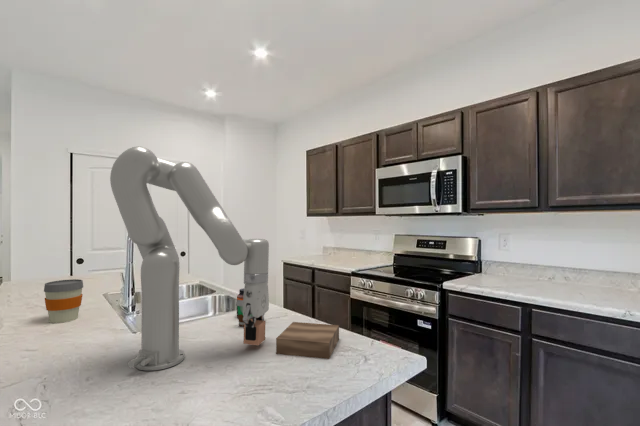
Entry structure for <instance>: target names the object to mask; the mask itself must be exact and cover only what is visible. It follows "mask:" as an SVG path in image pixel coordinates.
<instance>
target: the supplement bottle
mask: <svg viewBox="0 0 640 426" xmlns="http://www.w3.org/2000/svg"><path fill="white" fill-rule="evenodd" d="M238 293H239V294H237V295H236V301H237V300H243V296H244V288H239V291H238ZM236 318H238V308H237V307H236Z"/></svg>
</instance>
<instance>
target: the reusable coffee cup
mask: <svg viewBox="0 0 640 426" xmlns="http://www.w3.org/2000/svg"><path fill="white" fill-rule="evenodd" d="M43 287H44V288H43V292H44V295H45V297H44V303H45V310H46V311H47V315H48V321H49V323H50V324H62V323H69V322H72V321H76V320H77V319H78V317H79V311H80V307H81V305H82V300H83V293H82V292H83V289H84V282H83V279H80V278H79V279H76V278H75V279H73V278H72V279H61V280H59V279H58V280H53V281H49V282H45V283H44V285H43Z"/></svg>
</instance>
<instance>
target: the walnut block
mask: <svg viewBox="0 0 640 426" xmlns="http://www.w3.org/2000/svg"><path fill="white" fill-rule="evenodd" d="M339 340H340V325H339V324H328V323H327V324H325V323H315V322H314V323H313V322H298V321H292V322H291V323H290V324H289V325H288V326H287V327H286V329H284V330H283V331H282V332H281V333H280V334H279V335H278V336H277V337H276V339H275V353H276V355H285V356H295V357H304V358H315V359H324V360H325V359H326V360H329V359H330V358H331V356H332V354H333V352H334V350H335V349H336V346H337V344H338V342H339Z"/></svg>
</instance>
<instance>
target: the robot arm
mask: <svg viewBox="0 0 640 426" xmlns="http://www.w3.org/2000/svg"><path fill="white" fill-rule="evenodd" d="M109 181H110V188H111V191H112V194H113V198H114V200H115V202H116V205H117V208H118V211H119V214H120V215H121V219H122V221H123V224H124V225H125V228H126V231H127V232H126V233H127V235H128V237H129V239H130V240H131V242H133V243H134V244H136V246H137V250H138V251H139V254H140V256H141V258H142V262H141V265H140V286H141V287H140V288H141V289H140V290H141V338H140V339H141V349H140V350H138V355H137V356H136V357H135V358H132V359H131V360H129V361H128V363H127V366H128V367H129V368H130V369H133V368H136V369H138V370H141V371H145V372H147V371H148V372H149V371H150V372H151V371H160V370H165V369H168V368H172V367H174V366H177V365H178V364H180V363H182V362H183V361H184V360H185V351H184V350H182V349H180V257H179V254H178V251H177V249H176V246H175V244H174V241H173V240H172V237H171V234H170V231H169V229H168V227H167V225H166V223H165V221H164V219H163V218H162V217H161V216H159V213H158V211H157V209H156V206H155V204H154V201H153V199H152V196H151V193H150V191H149V188H148V185H147V184H149V185H151V186H152V185H153V186H155V187H158V188H162V189H165V190H170V191H173V192H176V194H177V195H178V197H179V198H180V200H181V201H182V203H183V204H184V206H185V207H186V209H187V210H188V212H189V214H190V215H191V217H192V218H193V219H194V221H195V222H196V224H197V225H198V226H199V227H200V228H201V229H202V230H203V231H204V232H205V234H206V235H207V237H208V238H209V240H210V241H211V242H212V244H213V246H214V247H215V249H216V250H217V253H218V255H219V257H220V258H221V260H223V261H224V262H225V263H226V264H228V265H230V266H238V265H240V264H243V285H244V296H243V316H244V317H243V321H244V322H245V327H246V336H245V339H246V340H252V341H255V340H256V327H255V322H256V320H262V321H265V315H266V313H267V312H269V309H270V307H269V305H270V303H269V301H270V297H269V295H270V294H269V256H270V255H269V254H270V253H269V252H270V251H269V250H270V245H269V240H267V239H264V238H249V239H245V238H244V239H243V238H242V236H241V235H240V233H239V231H238V230H237V228H236V226H235V225H234V223H233V222H232V220H231V219H230V217H228V215H227V214H226V211H225V210H224V208H223V207H222V205H221V204H220V202H219V200H217V198H216V196H215V195H214V193H213V192H212V190H211V188H210V187H209V185H208V183H207V182H206V180H205V179H204V177H203V175H202V174H201V172H200V171H199V169H198V168H197V167H196V166H195V165H194V164H192V163H190V162H186V161H184V162H183V161H182V162H178V163H176V162H171V161H168V160H166V159H163V158H162V159H161V158H158V157H157V155H156V154H155V153H154V152H153V151H151V149H149V148H146V147H143V146H132V147H130V148H127V149H126V150H124V151H123V152H121V154H120V155H118V157H117V158H116V159H115V160H114V162H113V165H112V168H111V171H110V176H109ZM250 314H252V315H253V316H250ZM249 318H251V319H253V321H251V320H250V319H249Z"/></svg>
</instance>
